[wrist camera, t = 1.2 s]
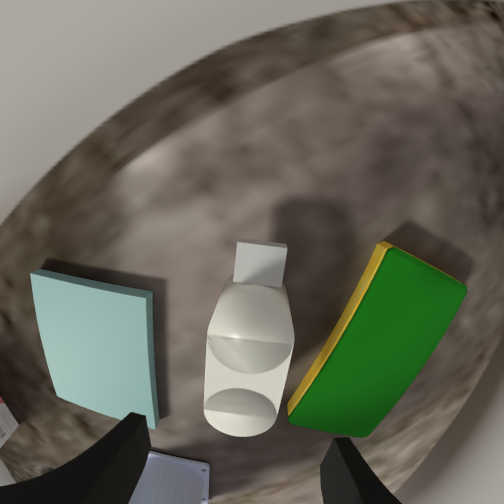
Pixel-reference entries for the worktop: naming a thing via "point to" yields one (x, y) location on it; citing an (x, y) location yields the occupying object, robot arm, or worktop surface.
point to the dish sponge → (377, 344)
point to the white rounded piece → (249, 343)
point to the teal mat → (98, 343)
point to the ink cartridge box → (6, 423)
